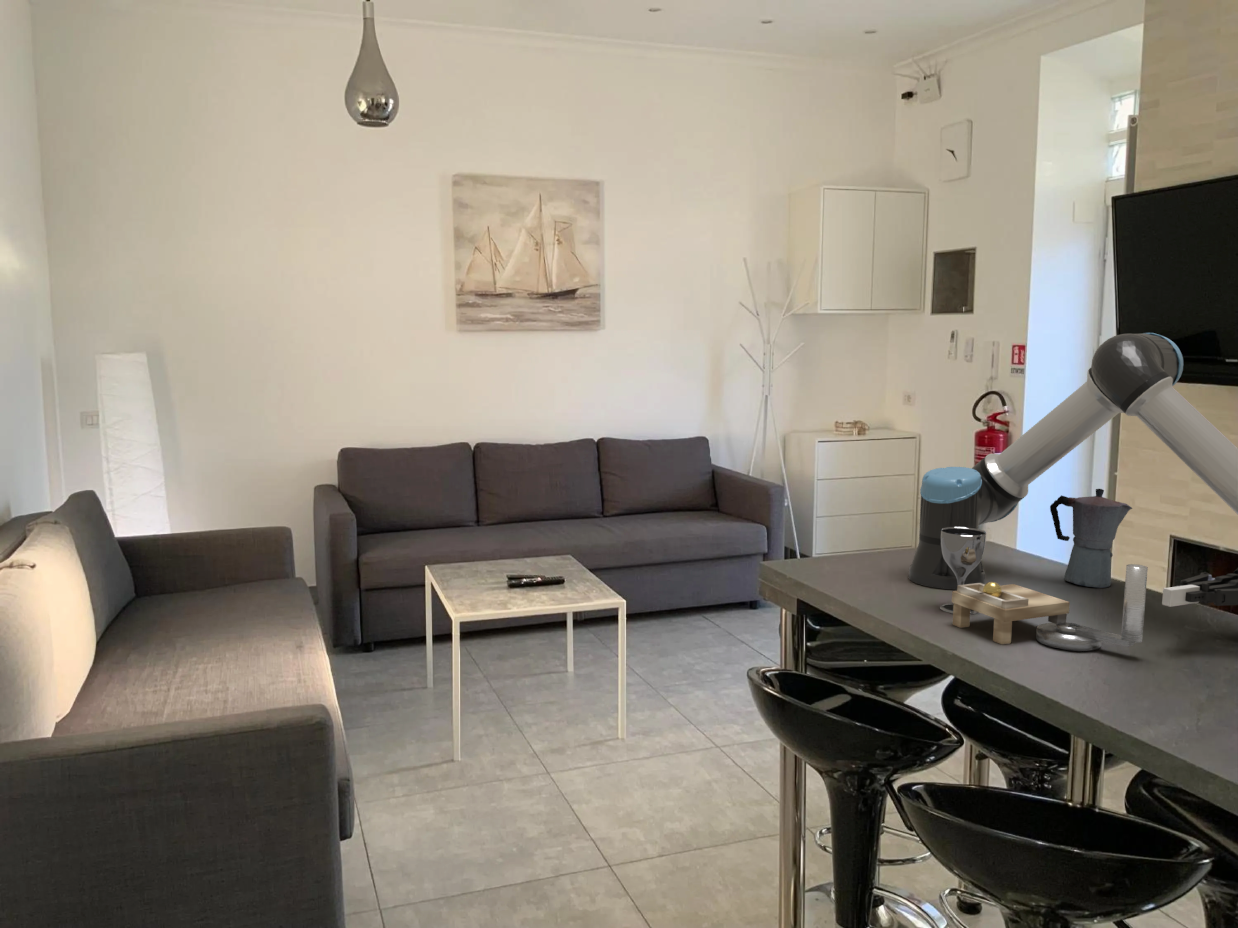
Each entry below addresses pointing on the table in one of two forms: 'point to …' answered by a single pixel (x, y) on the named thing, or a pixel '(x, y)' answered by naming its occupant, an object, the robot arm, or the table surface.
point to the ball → (992, 589)
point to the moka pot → (1090, 537)
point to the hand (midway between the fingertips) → (1166, 597)
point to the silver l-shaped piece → (1090, 639)
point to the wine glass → (962, 553)
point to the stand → (1006, 607)
